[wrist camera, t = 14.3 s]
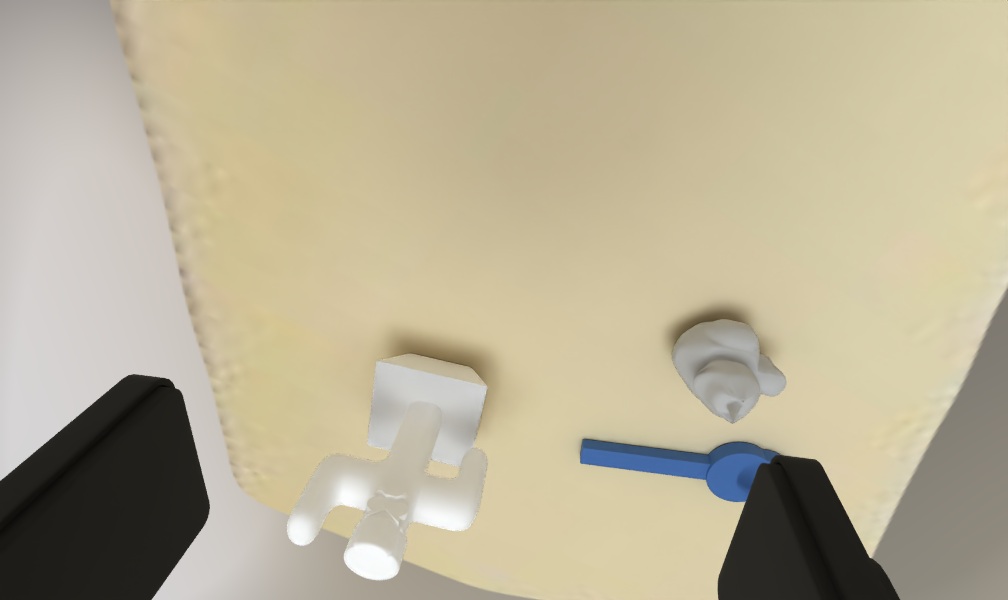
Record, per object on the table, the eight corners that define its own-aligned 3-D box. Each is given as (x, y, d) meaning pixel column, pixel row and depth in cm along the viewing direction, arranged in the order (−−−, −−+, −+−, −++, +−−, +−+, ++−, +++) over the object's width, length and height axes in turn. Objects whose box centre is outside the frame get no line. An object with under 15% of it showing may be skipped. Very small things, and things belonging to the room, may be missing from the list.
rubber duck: (683, 297, 36) (708, 369, 29) (786, 320, 36) (836, 399, 29) (655, 366, 39) (672, 448, 32) (752, 388, 39) (790, 476, 32)
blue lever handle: (577, 469, 44) (577, 481, 43) (585, 422, 41) (585, 433, 40) (776, 495, 43) (781, 508, 42) (795, 448, 40) (801, 460, 39)
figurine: (491, 437, 43) (452, 630, 30) (368, 408, 43) (275, 589, 30) (510, 358, 40) (476, 538, 26) (377, 327, 40) (277, 491, 27)
